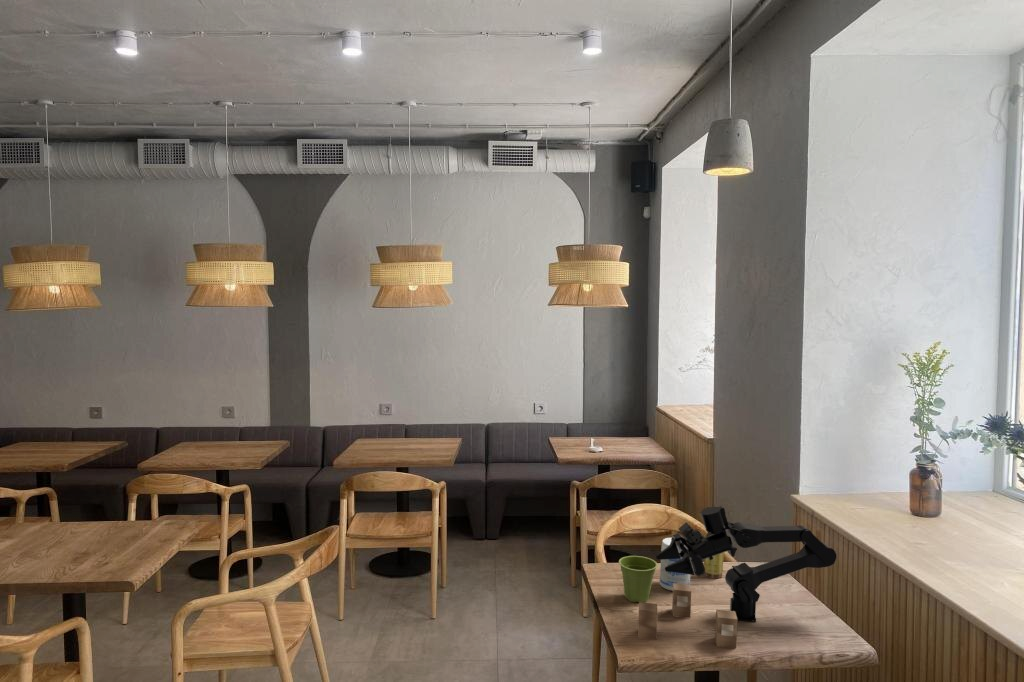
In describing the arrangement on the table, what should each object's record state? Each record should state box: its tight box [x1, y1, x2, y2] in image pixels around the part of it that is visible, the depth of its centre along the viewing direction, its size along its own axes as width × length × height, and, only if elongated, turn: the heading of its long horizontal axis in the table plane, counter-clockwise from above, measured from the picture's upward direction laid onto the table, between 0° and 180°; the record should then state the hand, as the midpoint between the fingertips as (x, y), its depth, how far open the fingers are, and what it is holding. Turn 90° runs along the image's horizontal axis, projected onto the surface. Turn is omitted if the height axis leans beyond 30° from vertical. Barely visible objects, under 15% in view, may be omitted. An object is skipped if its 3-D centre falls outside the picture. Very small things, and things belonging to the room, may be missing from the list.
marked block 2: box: [714, 609, 738, 649], centre depth 197 cm, size 5×5×8 cm
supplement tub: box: [659, 537, 691, 592], centre depth 234 cm, size 10×10×15 cm
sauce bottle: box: [703, 532, 724, 579], centre depth 243 cm, size 6×6×20 cm
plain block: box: [637, 602, 658, 641], centre depth 201 cm, size 5×5×8 cm
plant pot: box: [618, 555, 659, 603], centre depth 224 cm, size 12×12×11 cm
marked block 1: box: [671, 583, 692, 618], centre depth 214 cm, size 5×5×8 cm
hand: (660, 563), depth 211 cm, fingers open, 9 cm apart
